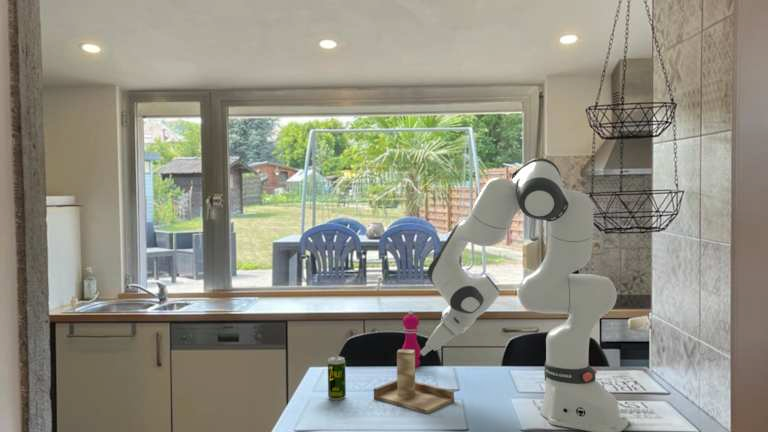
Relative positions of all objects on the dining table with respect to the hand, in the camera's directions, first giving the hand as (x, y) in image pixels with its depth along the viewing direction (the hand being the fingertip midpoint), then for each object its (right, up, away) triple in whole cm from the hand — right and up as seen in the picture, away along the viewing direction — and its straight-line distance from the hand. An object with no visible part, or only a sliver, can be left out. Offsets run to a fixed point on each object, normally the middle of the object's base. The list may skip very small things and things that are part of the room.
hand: (424, 349), depth 172 cm
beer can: (-27, -15, -1) cm, 31 cm away
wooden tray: (-3, -14, -5) cm, 15 cm away
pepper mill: (-2, -14, +33) cm, 36 cm away
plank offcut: (-6, -13, -1) cm, 14 cm away
